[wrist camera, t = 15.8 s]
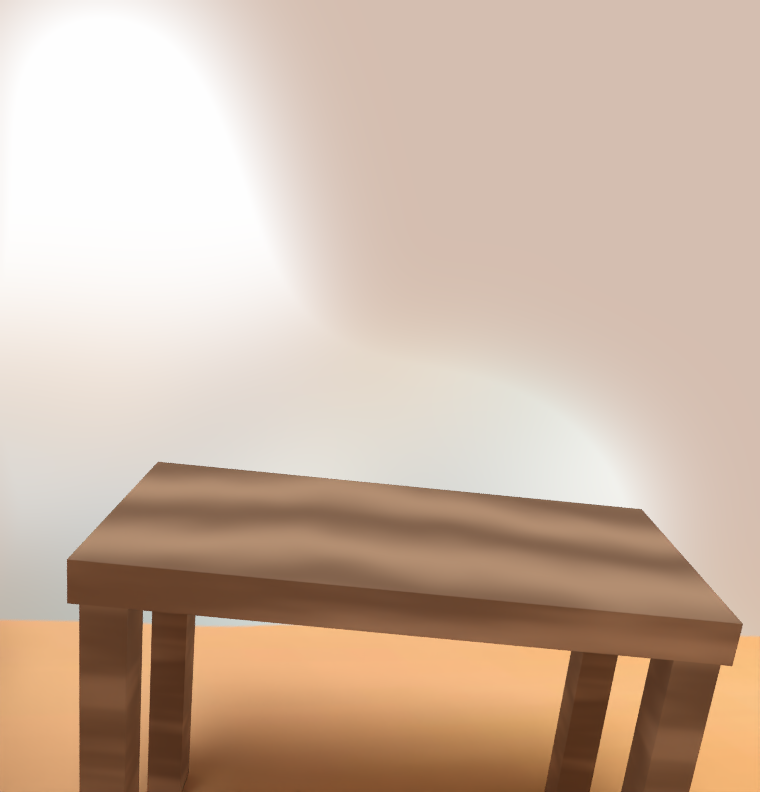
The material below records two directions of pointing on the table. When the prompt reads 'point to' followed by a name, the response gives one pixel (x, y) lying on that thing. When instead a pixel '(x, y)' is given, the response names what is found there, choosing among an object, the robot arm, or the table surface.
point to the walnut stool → (390, 604)
